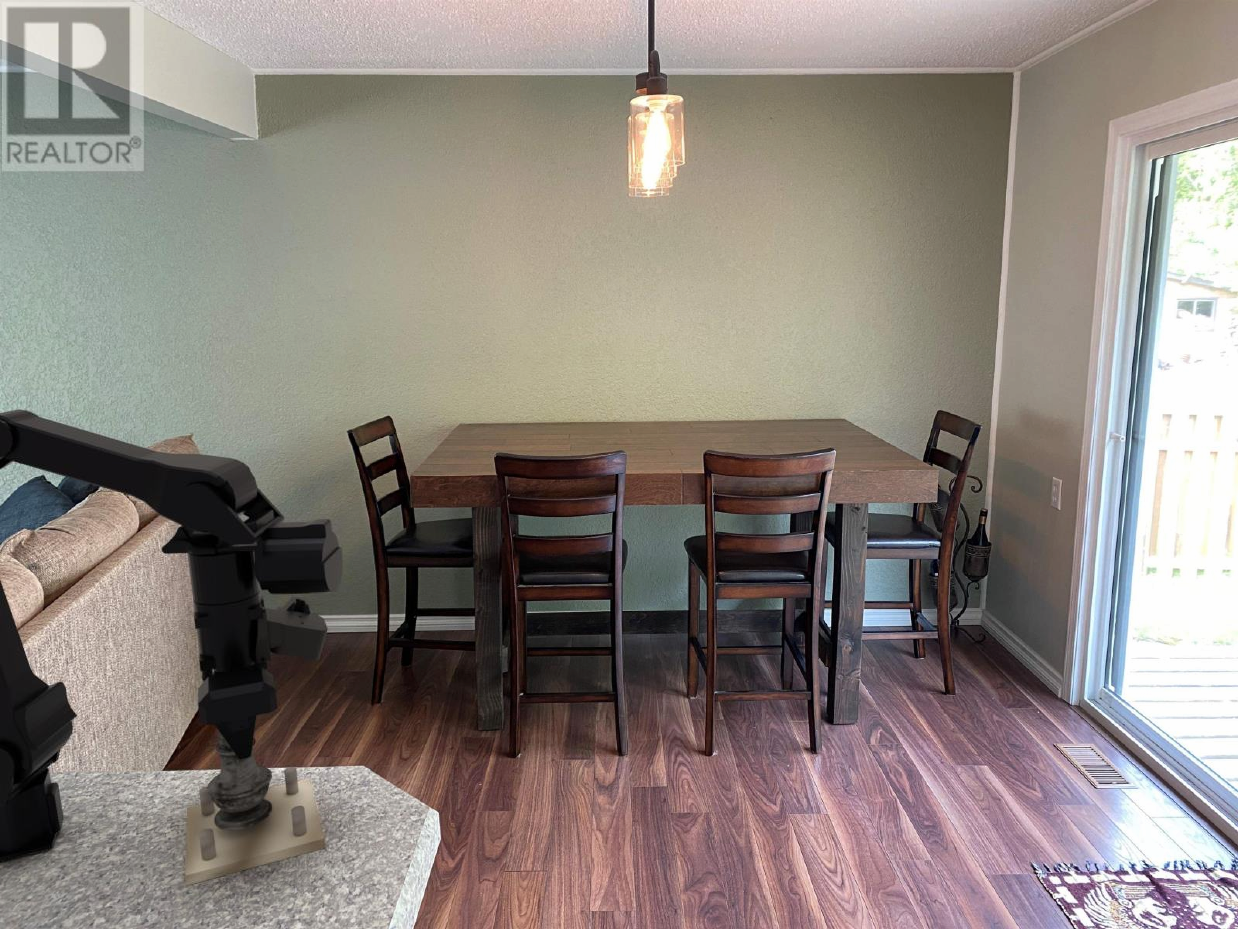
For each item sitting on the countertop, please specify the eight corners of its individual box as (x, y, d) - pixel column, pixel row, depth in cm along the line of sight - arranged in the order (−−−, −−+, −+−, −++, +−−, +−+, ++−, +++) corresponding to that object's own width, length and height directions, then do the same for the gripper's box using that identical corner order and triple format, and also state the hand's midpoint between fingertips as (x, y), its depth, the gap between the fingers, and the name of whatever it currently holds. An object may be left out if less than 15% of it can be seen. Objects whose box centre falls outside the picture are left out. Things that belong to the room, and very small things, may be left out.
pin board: (186, 885, 79) (181, 850, 78) (187, 816, 90) (183, 785, 89) (325, 847, 84) (322, 814, 83) (311, 786, 95) (308, 756, 94)
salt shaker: (252, 835, 83) (239, 717, 80) (197, 829, 84) (182, 712, 82) (287, 800, 88) (275, 688, 86) (235, 794, 90) (222, 685, 87)
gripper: (329, 611, 77) (344, 774, 80) (306, 556, 94) (319, 693, 97) (188, 634, 73) (209, 806, 76) (191, 572, 89) (208, 715, 92)
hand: (244, 748), depth 85 cm, fingers closed on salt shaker, 4 cm apart
